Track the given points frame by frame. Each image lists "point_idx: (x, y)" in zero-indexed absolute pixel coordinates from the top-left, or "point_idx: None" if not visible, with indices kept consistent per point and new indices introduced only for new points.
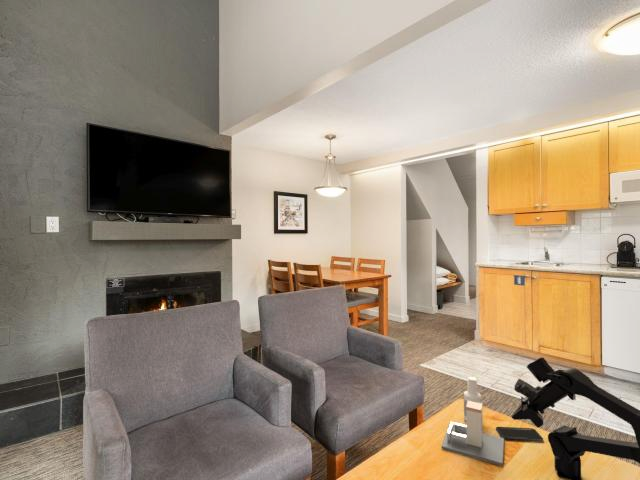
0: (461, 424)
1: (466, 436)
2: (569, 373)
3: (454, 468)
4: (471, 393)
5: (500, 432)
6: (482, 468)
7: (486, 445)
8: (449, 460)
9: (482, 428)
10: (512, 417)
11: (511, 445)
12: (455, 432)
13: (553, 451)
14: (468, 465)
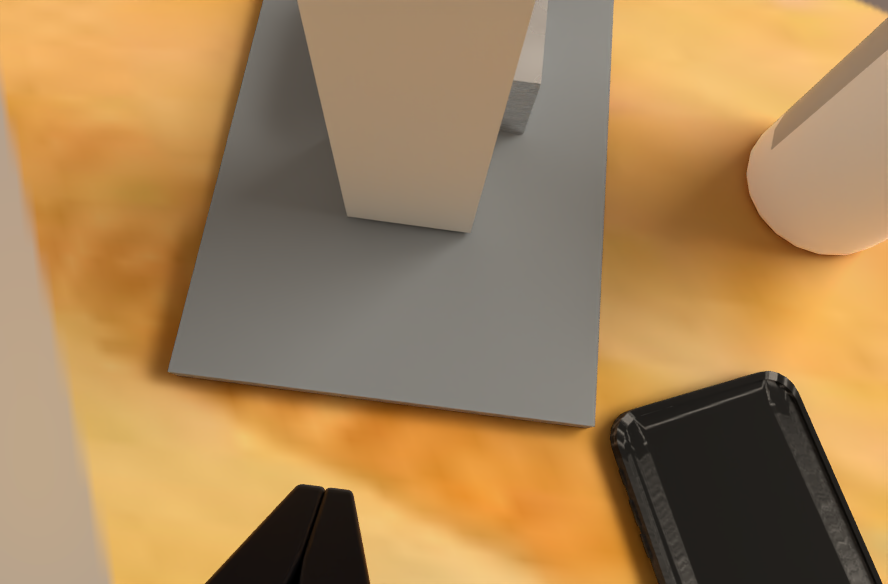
0: (537, 25)
1: None
2: None
3: (59, 38)
4: None
5: (703, 406)
6: (107, 220)
7: (406, 261)
8: (149, 10)
9: (481, 179)
10: (291, 502)
11: (538, 489)
12: None
13: None
14: (120, 127)
